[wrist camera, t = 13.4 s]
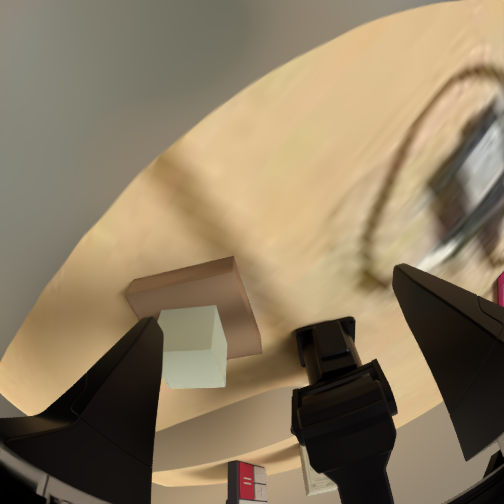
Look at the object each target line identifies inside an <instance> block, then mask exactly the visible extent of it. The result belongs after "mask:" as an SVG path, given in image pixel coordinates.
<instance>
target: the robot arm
mask: <svg viewBox="0 0 504 504" xmlns="http://www.w3.org/2000/svg"><path fill="white" fill-rule="evenodd" d="M392 287H393V290H394V293H395V295H396V297H397V300H398V302H399V305H400V307H401V309H402V312H403V314H404V317H405V319H406V322H407V324H408V326H409V328H410V330H411V331H412V333H413V335H414V337H415V339H416V341H417V343H418V345H419V347H420V349H421V351H422V353H423V355H424V357H425V359H426V361H427V364H428V366H429V368H430V370H431V372H432V374H433V377H434V379H435V381H436V383H437V386H438V388H439V390H440V393H441V395H442V397H443V400H444V402H445V405H446V407H447V410H448V412H449V414H450V418H451V420H452V423H453V426H454V428H455V431H456V434H457V437H458V440H459V443H460V446H461V449H462V452H463V455H464V458H465V461H468V460H470V459H472V458H473V457H475V456H476V455H478V454H479V453H481V452H482V451H484V450H485V449H487V448H488V447H490V446H491V445H492V444H494V443H495V442H498V444H499V447H500V450H499V451H497V452H496V453H495V454H493V455H492V456H491V458H490V461H489V464H488V466H487V469H486V472H485V474H484V476H483V479H482V480H481V481H479V482H478V483H476V484H474V485H473V486H471V487H470V488H468V489H467V490H465V491H463V492H462V493H460V494H458V495H457V496H455V497H453V498H451V499H450V500H448V501H446V502H444V503H442V504H504V307H503V306H500V305H498V304H495V303H493V302H491V301H489V300H487V299H484V298H482V297H480V296H477V295H476V294H474V293H472V292H469V291H467V290H465V289H463V288H461V287H458V286H456V285H454V284H452V283H449V282H447V281H445V280H443V279H440V278H438V277H436V276H434V275H431V274H429V273H427V272H424V271H422V270H419V269H417V268H415V267H412V266H410V265H408V264H405V263H402V264H399V265H395V266H394V269H393V281H392ZM295 333H296V339H297V345H298V350H299V356H300V362H301V366H302V367H306V370H307V375H308V380H309V386H306V387H303V388H300V389H298V388H297V389H294V390H293V396H292V425H291V433H292V434H293V435H295V436H296V437H297V439H298V441H299V443H300V445H301V446H303V447H304V446H305V447H306V451H307V454H308V458H309V463H310V466H311V467H312V468H313V469H314V470H315V471H316V472H317V473H318V474H321V473H323V474H324V475H325V476H326V477H328V478H329V479H330V480H331V481H333V482H334V483H335V484H336V485H337V487H338V491H339V495H340V499H341V503H342V504H394V500H393V496H392V492H391V488H390V484H389V480H388V476H387V472H386V466H387V464H388V461H389V458H390V455H391V452H392V450H393V447H394V443H395V439H396V429H395V426H394V422H393V419H392V416H394V415H396V414H398V411H397V406H396V402H395V399H394V396H393V393H392V390H391V387H390V385H389V383H388V381H387V379H386V377H385V375H384V373H383V371H382V369H381V367H380V365H379V363H378V361H377V359H374V360H372V361H371V362H369V363H367V364H365V365H362V363H361V360H360V357H359V355H358V352H357V350H356V347H355V345H354V343H355V319H354V317H347V318H343V319H339V320H335V321H331V322H327V323H323V324H319V325H314V326H310V327H306V328H301V329H298V330H296V332H295ZM299 333H301V334H299ZM163 345H164V334H163V331H162V329H161V327H160V326H159V324H158V322H157V320H156V319H155V317H153V316H148V317H143V318H142V319H141V320H140V321H139V322H138V323H137V324H136V325H135V326H134V327H132V328H131V329H130V330H129V331H128V332H127V333H126V334H125V335H124V336H123V337H122V338H121V339H120V340H119V341H118V342H117V343H116V344H115V345H114V346H113V347H112V348H111V349H110V350H109V351H108V352H107V353H106V354H104V355H103V356H102V357H101V358H100V359H99V360H98V361H97V362H96V363H95V364H94V365H93V366H92V367H91V368H90V369H89V370H88V371H87V373H85V374H84V375H83V376H82V377H81V378H80V379H79V380H78V381H77V382H76V383H75V384H74V385H73V386H72V387H71V388H70V389H68V390H67V391H66V392H65V393H64V394H63V395H62V396H61V397H59V398H58V399H57V400H56V401H55V402H54V403H53V404H51V405H50V406H49V407H48V408H47V409H46V410H44V411H43V412H41V413H40V414H37V415H34V416H27V417H13V418H0V448H2V449H3V450H2V453H1V456H0V504H151V484H152V468H151V467H152V464H153V463H152V462H153V450H154V438H155V427H156V418H157V409H158V400H159V392H160V385H161V377H162V368H163Z"/></svg>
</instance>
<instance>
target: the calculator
mask: <svg viewBox="0 0 504 504" xmlns="http://www.w3.org/2000/svg"><path fill="white" fill-rule="evenodd" d="M266 483H267V479H266V469H265V468H264V467H260V466H256V465H252V464H248V463H244V462H241V461H233V462H229V463H228V499H227V501H226V504H267V500H268V494H267V486H266Z"/></svg>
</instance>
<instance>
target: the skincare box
mask: <svg viewBox="0 0 504 504" xmlns="http://www.w3.org/2000/svg"><path fill="white" fill-rule="evenodd" d="M299 452H300V458H301V464H302V471H303V477H304V483H305V490H306V495H307V496H308V495H314V494H320V493H324V492H329V491H334V490H336V489H338V487H337V485H336V484H335V483H334V482H333V481H331V480H330V479H329V478H328V477H326V476H325V475H324V474H323V473H321V474H318V473H317V472H316V471H315V470H314V469H313V468H312V467H311V466H310V463H309V458H308V454H307V451H306V447H305V446H304V447H303V446H301V445H300V447H299Z"/></svg>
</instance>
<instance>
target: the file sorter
mask: <svg viewBox="0 0 504 504" xmlns="http://www.w3.org/2000/svg"><path fill="white" fill-rule="evenodd" d="M498 298H499V305H500V306H503V307H504V273H503V274H502V275H501V276H500V277H499V278H498Z"/></svg>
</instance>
